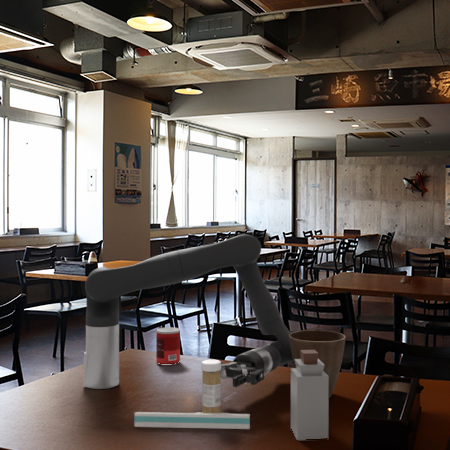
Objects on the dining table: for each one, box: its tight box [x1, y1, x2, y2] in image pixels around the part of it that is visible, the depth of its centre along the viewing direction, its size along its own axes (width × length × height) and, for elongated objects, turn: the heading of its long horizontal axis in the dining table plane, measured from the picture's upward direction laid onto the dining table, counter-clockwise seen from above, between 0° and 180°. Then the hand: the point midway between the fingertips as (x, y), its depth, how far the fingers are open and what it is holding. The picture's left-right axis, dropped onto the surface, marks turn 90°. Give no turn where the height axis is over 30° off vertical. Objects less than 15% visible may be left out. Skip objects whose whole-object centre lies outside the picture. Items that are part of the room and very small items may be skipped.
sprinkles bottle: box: [201, 358, 222, 414], centre depth 126 cm, size 5×5×14 cm
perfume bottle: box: [290, 350, 329, 441], centre depth 118 cm, size 7×7×18 cm
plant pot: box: [289, 329, 346, 399], centre depth 144 cm, size 15×15×16 cm
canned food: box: [155, 326, 181, 364], centre depth 178 cm, size 8×8×11 cm
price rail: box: [133, 411, 251, 430], centre depth 126 cm, size 26×10×3 cm, turn 87°
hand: (219, 379), depth 129 cm, fingers open, 8 cm apart
